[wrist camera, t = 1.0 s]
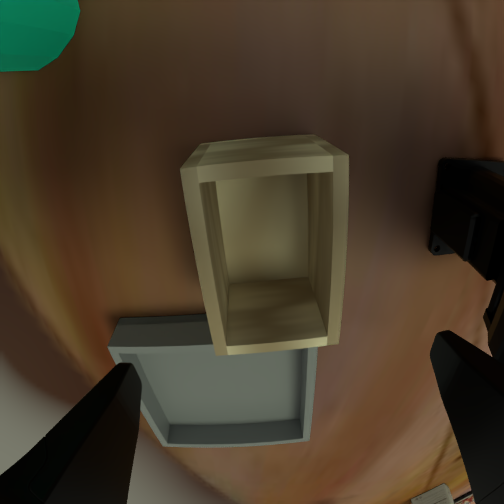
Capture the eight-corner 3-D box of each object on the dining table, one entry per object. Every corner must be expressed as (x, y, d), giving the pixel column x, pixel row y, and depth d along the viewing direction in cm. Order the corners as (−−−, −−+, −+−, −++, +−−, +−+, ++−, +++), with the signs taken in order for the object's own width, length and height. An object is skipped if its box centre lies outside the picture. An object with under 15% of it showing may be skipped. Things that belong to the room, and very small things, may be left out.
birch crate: (314, 134, 16) (348, 155, 11) (315, 278, 20) (338, 343, 15) (200, 143, 16) (179, 168, 11) (221, 287, 20) (215, 355, 15)
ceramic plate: (494, 475, 60) (497, 482, 57) (485, 489, 71) (487, 494, 68) (425, 511, 65) (427, 518, 63) (427, 518, 76) (429, 524, 73)
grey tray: (309, 304, 21) (318, 335, 18) (305, 414, 27) (309, 440, 25) (120, 317, 21) (107, 346, 19) (167, 420, 27) (162, 446, 25)
